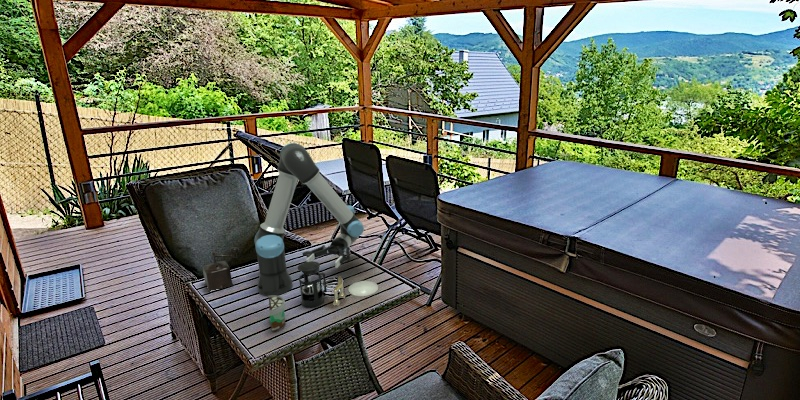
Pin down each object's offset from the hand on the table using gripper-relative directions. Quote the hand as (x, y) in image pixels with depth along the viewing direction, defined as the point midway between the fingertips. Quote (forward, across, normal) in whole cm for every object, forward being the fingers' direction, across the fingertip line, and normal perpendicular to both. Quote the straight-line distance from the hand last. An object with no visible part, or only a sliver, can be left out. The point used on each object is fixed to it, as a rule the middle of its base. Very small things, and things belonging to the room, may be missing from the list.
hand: (321, 263), depth 194 cm
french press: (+10, 0, -13) cm, 16 cm away
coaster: (-5, -17, -13) cm, 22 cm away
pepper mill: (+4, +48, -13) cm, 50 cm away
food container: (+28, +6, -13) cm, 31 cm away
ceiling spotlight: (+4, -9, -13) cm, 16 cm away
